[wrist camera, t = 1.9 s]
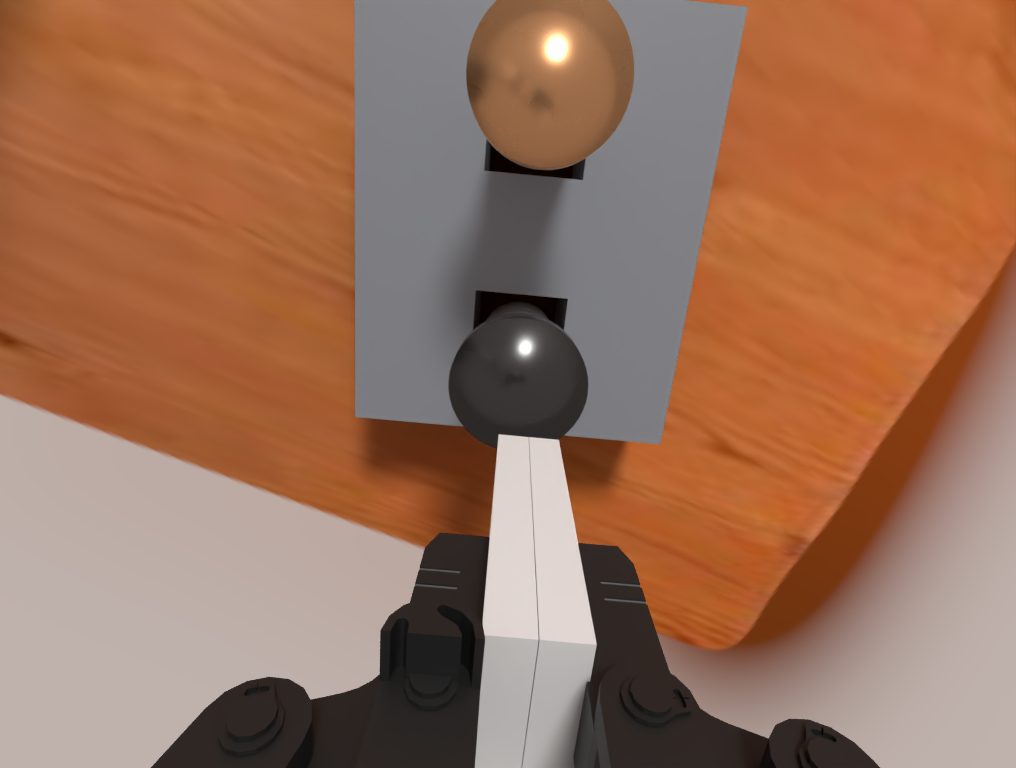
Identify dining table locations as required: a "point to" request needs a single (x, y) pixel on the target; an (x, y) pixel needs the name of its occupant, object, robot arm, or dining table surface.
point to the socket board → (530, 211)
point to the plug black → (518, 377)
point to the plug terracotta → (549, 79)
